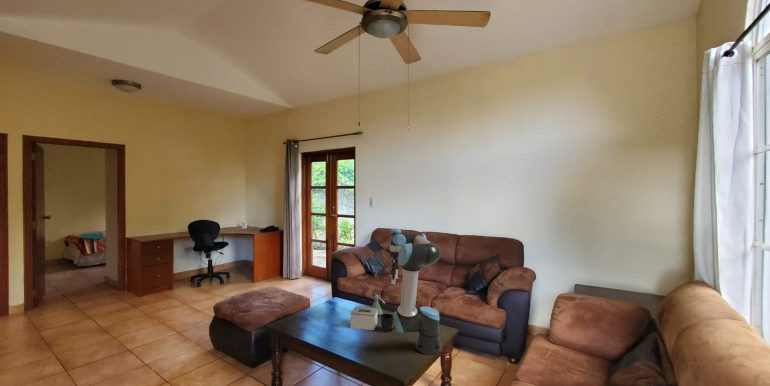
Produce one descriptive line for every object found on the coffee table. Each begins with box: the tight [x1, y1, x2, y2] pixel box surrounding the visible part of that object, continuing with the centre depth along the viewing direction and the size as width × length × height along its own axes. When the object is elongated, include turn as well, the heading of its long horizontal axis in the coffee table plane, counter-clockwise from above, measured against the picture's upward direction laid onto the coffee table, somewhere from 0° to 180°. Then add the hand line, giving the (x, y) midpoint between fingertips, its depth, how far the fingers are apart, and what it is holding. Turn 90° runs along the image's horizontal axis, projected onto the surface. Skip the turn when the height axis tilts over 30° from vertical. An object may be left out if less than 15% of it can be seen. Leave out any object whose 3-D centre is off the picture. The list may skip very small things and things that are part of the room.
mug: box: [380, 313, 396, 333], centre depth 212 cm, size 8×12×10 cm
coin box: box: [350, 306, 378, 331], centre depth 219 cm, size 16×12×10 cm
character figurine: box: [365, 291, 386, 318], centre depth 236 cm, size 16×8×18 cm, turn 65°
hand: (394, 281), depth 226 cm, fingers open, 13 cm apart
